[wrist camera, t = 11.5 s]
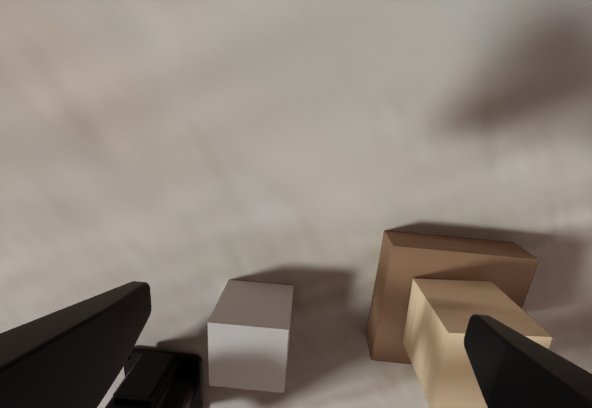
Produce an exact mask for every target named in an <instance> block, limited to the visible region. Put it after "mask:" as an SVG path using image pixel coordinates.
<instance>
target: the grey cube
mask: <svg viewBox="0 0 592 408" xmlns="http://www.w3.org/2000/svg"><path fill="white" fill-rule="evenodd" d="M293 287H294V286H293V285H281V284H270V283H259V282H247V281H236V280H228V282H227V284H226V286H225V288H224V290H223V292H222V294H221V296H220V298H219V300H218V302H217V304H216V306H215V308H214V310H213V312H212V314H211V316H210V318H209V320H208V364H209V386H216V387H226V388H236V389H247V390H257V391H267V392H277V393H284V390H285V380H286V370H287V361H288V351H289V341H290V328H291V314H292V300H293Z"/></svg>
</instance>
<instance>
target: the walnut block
mask: <svg viewBox="0 0 592 408" xmlns="http://www.w3.org/2000/svg"><path fill="white" fill-rule="evenodd" d="M538 261H539V259H537V258H536V257H534V256H533V255H531V254H530V253H528V252H527V251H525V250H524V249H522V248H521V247H519V246H518V245H516V244H515V243H513V242H502V241H491V240H480V239H470V238H459V237H448V236H437V235H426V234H415V233H405V232H394V231H384V235H383V240H382V246H381V252H380V257H379V263H378V269H377V274H376V280H375V286H374V291H373V297H372V302H371V308H370V314H369V319H368V325H367V331H366V339H367V343H368V348H369V352H370V356H371V360H376V361H386V362H395V363H405V364H412V363H411V361H410V359H409V356H408V354H407V352H406V349H405V347H404V345H403V337H404V331H405V324H406V318H407V312H408V306H409V300H410V293H411V287H412V281H413V278H414V279H439V280H464V281H488V282H492V283H494V284H495V285H496V286H497V287H498V288H499V289H500V290H501V291H502V292H503V293H505V294H506V295H507V296H508V297H509V298H510V299H511V300H512V301H513V302H514V303H516V304H517V305H518V306H519V307H520V308H521V309H522V306H523V304H524V301H525V298H526V295H527V292H528V290H529V287H530V284H531V281H532V278H533V275H534V273H535V270H536V267H537V264H538Z"/></svg>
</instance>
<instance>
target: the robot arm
mask: <svg viewBox="0 0 592 408" xmlns="http://www.w3.org/2000/svg"><path fill="white" fill-rule="evenodd" d="M150 313H151V296H150V286H149V284H148V283H146V282H137V281H133V282H130V283H127V284H125V285H122V286H120V287H117V288H115V289H112V290H110V291H107V292H105V293H102V294H99V295H97V296H94V297H92V298H89V299H87V300H84V301H82V302H79V303H77V304H74V305H72V306H69V307H67V308H64V309H61V310H59V311H56V312H54V313H51V314H49V315H46V316H44V317H41V318H39V319H36V320H34V321H31V322H29V323H26V324H23V325H21V326H18V327H16V328H13V329H11V330H8V331H6V332H3V333H1V334H0V408H97V407H98V405H99V404H100V402H101V401H102V399H103V398H104V396H105V394H106V393H107V391H108V390H109V388H110V387H111V385H112V384H113V382H114V381H115V379H116V377H117V376H118V374H119V373H120V371H121V369H122V368H123V366H124V372H125V378H124V380H123V381H122V382H121V384H120V385H119V387H118V388H117V390H116V391H115V392H114V394H113V397H112V398H111V400H110V401H109V403H108V404H107V405H106V407H105V408H203V401H202V369H201V358H200V357H199V356H197V355H190V354H180V353H169V352H159V351H149V350H139V349H133V347H134V345H135V343H136V341H137V340H138V338H139V336H140V334H141V332H142V330H143V328H144V326H145V324H146V322H147V320H148V318H149V316H150ZM464 347H465V350H466V353H467V356H468V358H469V361H470V364H471V366H472V369H473V372H474V374H475V377H476V379H477V382H478V385H479V387H480V390H481V393H482V395H483V398H484V400H485V403H486V405H487V407H488V408H592V374H591V373H589V372H587V371H586V370H584V369H582V368H580V367H578V366H577V365H575V364H573V363H571V362H570V361H568V360H566V359H564V358H563V357H561V356H559V355H557V354H556V353H554V352H552V351H550V350H549V349H547V348H545V347H543V346H542V345H540V344H538V343H536V342H535V341H533V340H531V339H529V338H528V337H526V336H524V335H522V334H521V333H519V332H517V331H515V330H514V329H512V328H510V327H508V326H507V325H505V324H503V323H501V322H500V321H498V320H496V319H494V318H493V317H491V316H488V315H480V314H473V315H472V316H471V317H470V319H469V322H468V326H467V329H466V333H465V336H464ZM194 361H195V362H194Z"/></svg>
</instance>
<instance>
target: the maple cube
mask: <svg viewBox="0 0 592 408" xmlns="http://www.w3.org/2000/svg"><path fill="white" fill-rule="evenodd" d="M473 314H480V315H488V316H491V317H493V318H494V319H496V320H498V321H500V322H501V323H503V324H505V325H507V326H508V327H510V328H512V329H514V330H515V331H517V332H519V333H521V334H522V335H524V336H526V337H528V338H529V339H531V340H533V341H535V342H536V343H538V344H540V345H542V346H543V347H545V348H547V349H549V347H550V344H551V341H552V338H553V337H552V336H551V335H550V334H549V333H548V332H546V331H545V330H544V329H543V328H542V327H541V326H540V325H539V324H538V323H537V322H535V321H534V320H533V319H532V318H531V317H530V316H529V315H528V314H527V313H526V312H524V311H523V310H522V309H521V308H520V307H519V306H518V305H517V304H516V303H514V302H513V301H512V300H511V299H510V298H509V297H508V296H507V295H506V294H505V293H503V292H502V291H501V290H500V289H499V288H498V287H497V286H496V285H495V284H494V283H492V282H488V281H464V280H439V279H414V278H413V281H412V287H411V293H410V300H409V306H408V312H407V318H406V324H405V331H404V337H403V345H404V347H405V349H406V352H407V354H408V356H409V359H410V361H411V363H412V366H413V368H414V370H415V373H416V375H417V377H418V380H419V382H420V384H421V387H422V389H423V391H424V394H425V396H426V398H427V401H428V403H429V405H430V408H488V407H487V405H486V403H485V400H484V398H483V395H482V393H481V390H480V387H479V385H478V382H477V379H476V377H475V374H474V372H473V369H472V366H471V364H470V361H469V358H468V356H467V353H466V350H465V347H464V336H465V333H466V329H467V326H468V322H469V319H470V317H471V316H472V315H473Z"/></svg>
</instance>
